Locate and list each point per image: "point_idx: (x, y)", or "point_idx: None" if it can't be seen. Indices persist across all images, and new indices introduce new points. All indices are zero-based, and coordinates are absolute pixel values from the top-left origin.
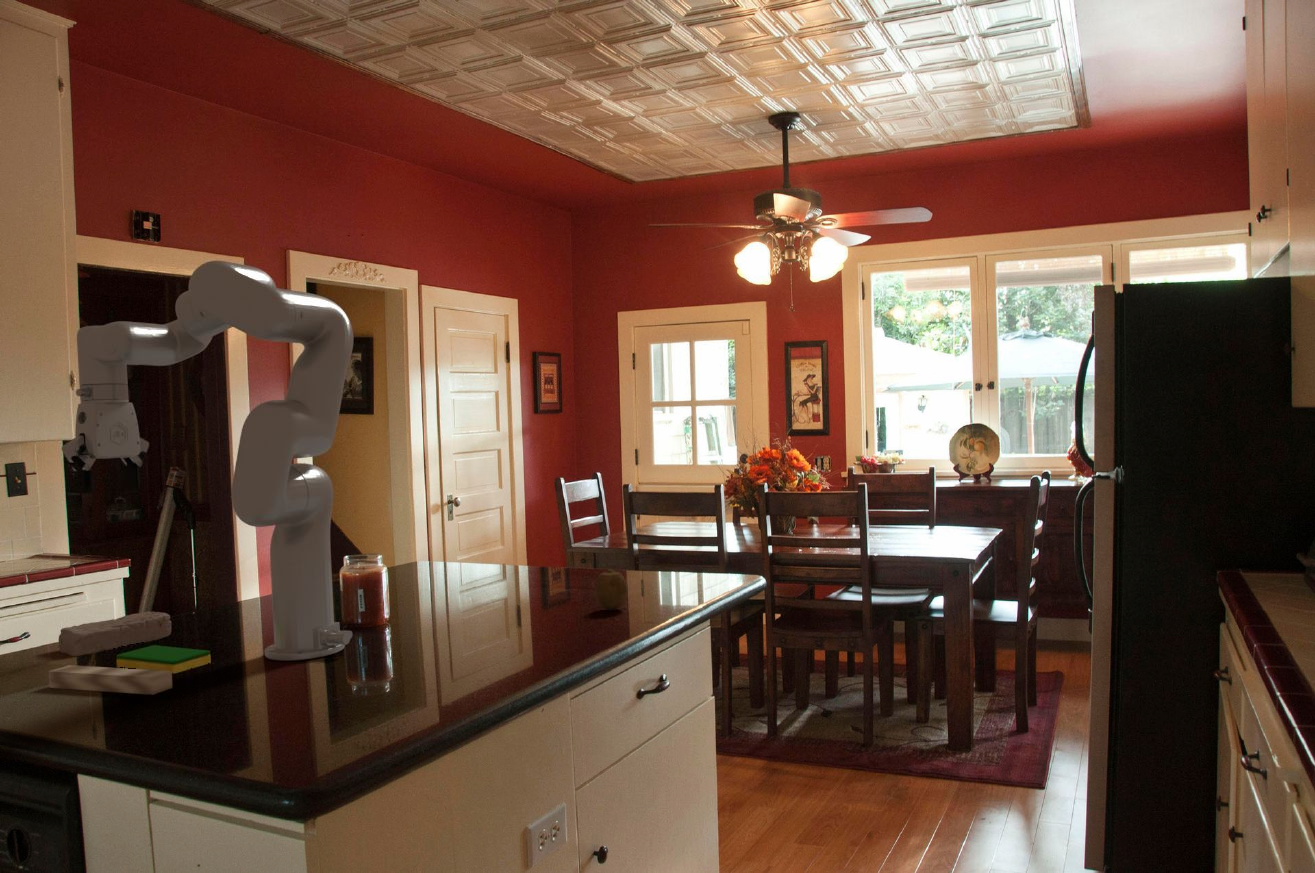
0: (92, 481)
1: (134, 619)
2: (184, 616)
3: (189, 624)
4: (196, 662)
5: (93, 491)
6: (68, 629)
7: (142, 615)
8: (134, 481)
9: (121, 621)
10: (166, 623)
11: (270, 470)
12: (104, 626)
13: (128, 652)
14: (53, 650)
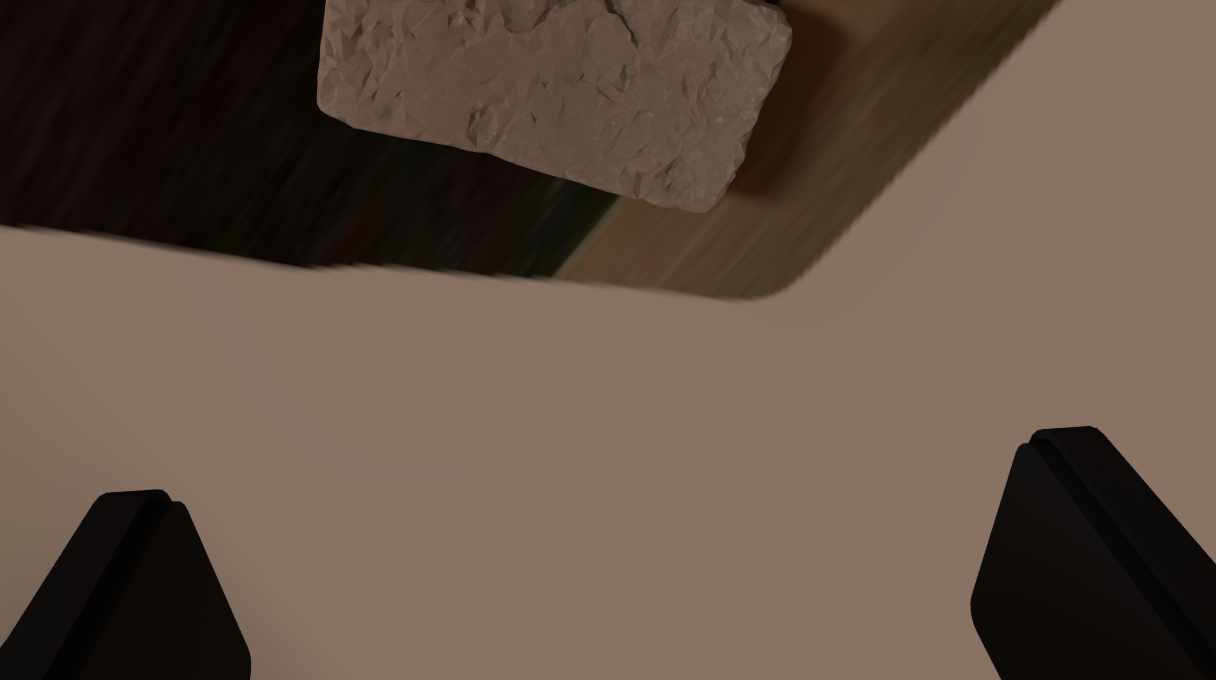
0: (1184, 554)
1: (473, 31)
2: (51, 225)
3: (142, 37)
4: None
5: (1061, 431)
6: (742, 141)
7: (410, 51)
8: (147, 611)
9: (530, 57)
10: None
11: None
12: (640, 39)
13: None
14: None
